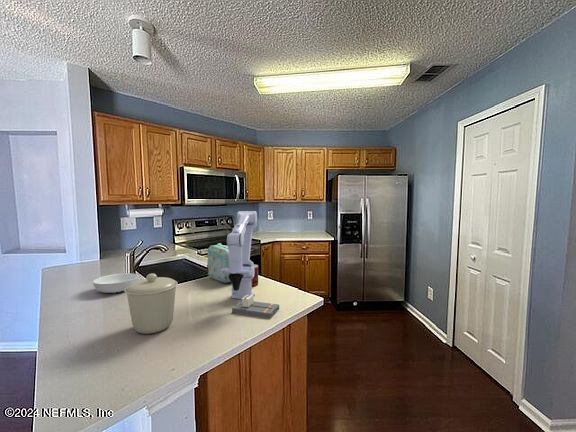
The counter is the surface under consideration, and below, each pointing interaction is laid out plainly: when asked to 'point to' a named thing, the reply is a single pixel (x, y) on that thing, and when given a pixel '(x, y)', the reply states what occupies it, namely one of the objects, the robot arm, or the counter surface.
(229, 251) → the robot arm
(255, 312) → the fader console
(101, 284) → the serving bowl
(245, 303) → the fader knob
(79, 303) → the counter surface
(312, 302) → the counter surface
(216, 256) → the lunch box
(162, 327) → the canister
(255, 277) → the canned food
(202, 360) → the counter surface
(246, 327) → the counter surface
